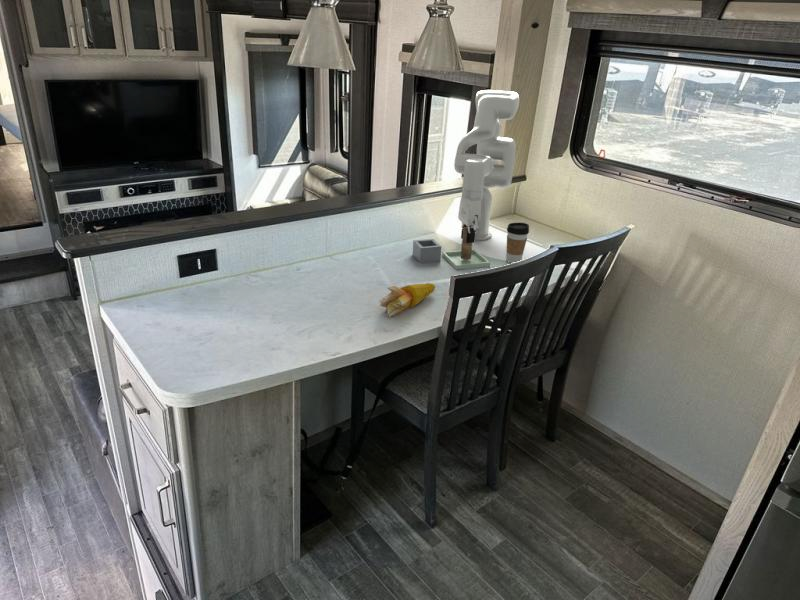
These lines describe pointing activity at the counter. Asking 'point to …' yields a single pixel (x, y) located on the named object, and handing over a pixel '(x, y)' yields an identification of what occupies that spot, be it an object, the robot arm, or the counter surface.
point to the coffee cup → (516, 241)
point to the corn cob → (405, 297)
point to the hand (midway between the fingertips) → (467, 240)
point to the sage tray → (459, 263)
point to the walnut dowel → (466, 246)
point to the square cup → (426, 250)
